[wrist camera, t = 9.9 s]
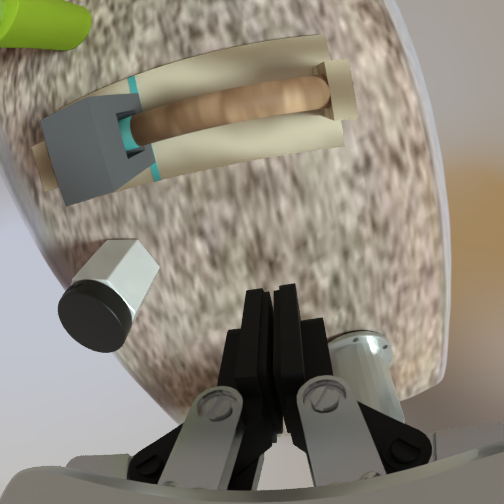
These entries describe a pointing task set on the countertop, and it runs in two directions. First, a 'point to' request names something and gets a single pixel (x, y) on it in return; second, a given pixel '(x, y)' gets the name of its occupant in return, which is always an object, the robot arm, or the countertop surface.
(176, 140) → the pipe rig
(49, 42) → the soap dispenser
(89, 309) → the jar
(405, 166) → the countertop surface
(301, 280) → the countertop surface
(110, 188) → the collar
